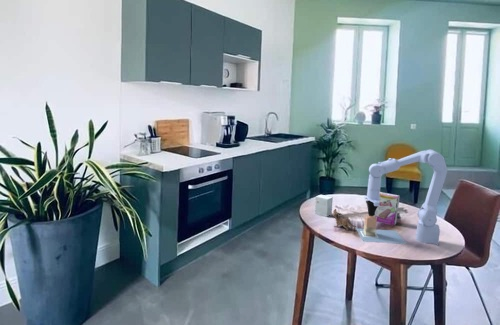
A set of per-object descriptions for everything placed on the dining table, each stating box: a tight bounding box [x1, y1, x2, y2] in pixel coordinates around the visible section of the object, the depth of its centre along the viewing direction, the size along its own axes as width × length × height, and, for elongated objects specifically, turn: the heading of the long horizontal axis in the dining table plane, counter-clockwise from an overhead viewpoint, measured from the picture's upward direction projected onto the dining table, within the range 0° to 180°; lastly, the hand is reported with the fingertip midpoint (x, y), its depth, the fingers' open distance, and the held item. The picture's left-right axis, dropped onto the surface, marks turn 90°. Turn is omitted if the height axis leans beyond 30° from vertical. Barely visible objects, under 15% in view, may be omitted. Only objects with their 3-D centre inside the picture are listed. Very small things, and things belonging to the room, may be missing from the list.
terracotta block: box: [363, 214, 378, 229], centre depth 177 cm, size 4×4×4 cm
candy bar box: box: [374, 191, 401, 226], centre depth 194 cm, size 11×5×16 cm, turn 58°
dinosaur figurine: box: [332, 209, 357, 231], centre depth 185 cm, size 14×6×9 cm, turn 49°
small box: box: [314, 194, 333, 218], centre depth 206 cm, size 8×6×10 cm
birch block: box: [363, 223, 377, 236], centre depth 177 cm, size 4×4×4 cm
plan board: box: [355, 227, 407, 245], centre depth 177 cm, size 20×16×1 cm
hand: (371, 215), depth 176 cm, fingers closed
